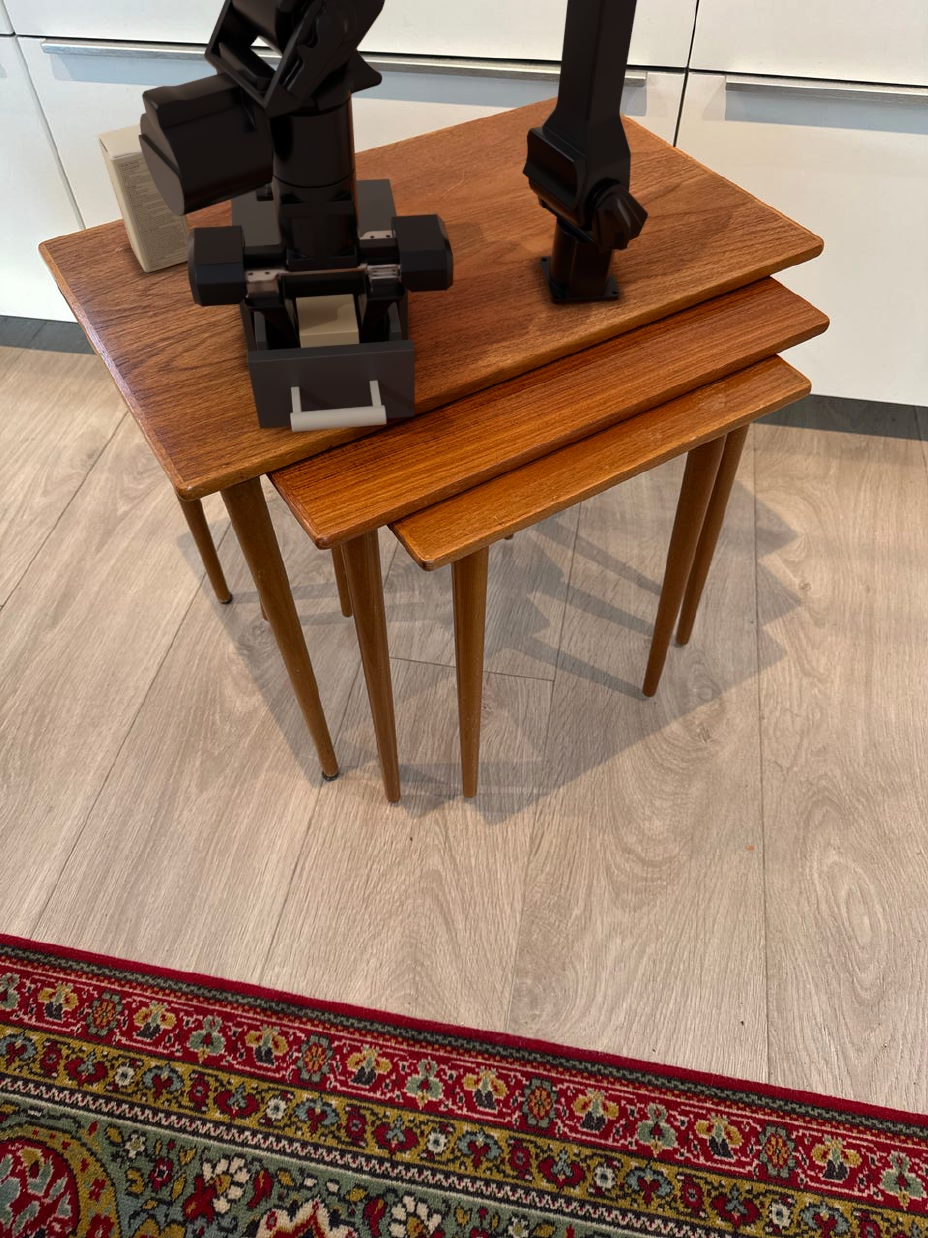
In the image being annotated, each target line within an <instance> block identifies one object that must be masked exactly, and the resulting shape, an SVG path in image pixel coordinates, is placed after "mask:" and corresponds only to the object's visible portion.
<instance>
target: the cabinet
mask: <svg viewBox="0 0 928 1238" xmlns="http://www.w3.org/2000/svg"><path fill="white" fill-rule="evenodd" d="M356 180H357V197H358V214H359V232H360V238H361V237H363V235H364V234H365V233H367V232H371V231H389V230H391V219H392V217H393V216H398V213H397V210H396V209H397V208H396V205H395V200H394V194H393V191H392V184H391V181H390V178H377V179H375V178H374V179H356ZM230 216H231V217H230V218H231V226H235V225H242V228H243V232H244V238H245V246H258V245H274V244H276V243H279V242H280V241H279V234H278V227H277V220H276V213H275V205H274V201H260V202H258V201H257V200H256V196H255V191H254V192H251V193H248V194H245V195H242V196H239V197H236V198H233V199H230ZM346 279H359V271H348V272H333V273H317V274H302V275H286V281H287V283H299V282H315V281H331V280H346ZM396 306H397V311H398V316H399V321H400V327H401V341H402V340H409V290H408V289H407V288H406V287H405V299H404V300H403V301H400V302H396ZM238 309H239V313H240V318H241V323H242V328H243V334H244V340H245V345H246V350H247V352H249V351H258V350H257V345H256V335H255V317H254V312H251V311H248V310H247V309H246V308H245V303H244V299H243V300H242V301H241V302H240V303H239V304H238Z"/></svg>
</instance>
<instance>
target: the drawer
mask: <svg viewBox="0 0 928 1238" xmlns="http://www.w3.org/2000/svg"><path fill="white" fill-rule="evenodd" d="M287 285H288V289H289V293H290V296H291V300H292V304H293V307H294V311H295V315H296V318H297V322H298V315H297V305H296V298H303V297H318V296H333V295H348V294H353V297H354V303H355V310H356V316H357V307H358V292H359V279H346V280H331V281H315V282H299V283H287ZM254 317H255V335H256V345H257V350H258V351H249V352H248V351H247V352H246V365H247V369H248V375H249V381H250V384H251V390H252V395H253V399H254V400H253V401H254V406H255V409H256V415H257V420H258V425H259V429H260V430H265V429H267V430H268V429H279V428H290V427H291V431H292V432H293V433H299V432H311V431H321V430H322V431H323V430H324V431H325V430H331V429H332V430H334V429H335V430H337V429H345V428H358V427H360V428H361V427H369V426H381V425H387V419H388V420H389V419H398V418H410V417H412V418H413V417H415V416H416V375H415V373H416V365H415V364H416V362H415V361H416V351H415V345H414V344H415V343H414V341H413V339H408V340H402V341H401V327H400V321H399V316H398V311H397V306H396V302H394V303H392V304H391V306H390V307H389V309H388V310H387V311H386V313H385V314H384V315H383V317H382V318H381V320H380V321H379V323H378V324H377V326H376V328H375V330H374V332H373V334H372V336H371V338H370V340H369V342H368V343H360V344H346V345H333V346H319V347H305V348H291V346H290V345H289V344H288V342H287V341H286V340H285V338H284V337H283V335H282V334H281V333H280V332H279V330H278V329H277V328H276V327H275V326H274V325H273V324H272V323H271V322H270V321H269V320H268V319H267V318H266V317H265V316H264V315H263V314H262V313H260V312H254Z"/></svg>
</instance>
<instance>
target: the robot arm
mask: <svg viewBox="0 0 928 1238" xmlns="http://www.w3.org/2000/svg"><path fill="white" fill-rule="evenodd" d="M385 2H386V0H224V2H223V5H222V7H221V9H220V12H219V15H218V18H217V20H216V22H215V24H214V27H213V30H212V33H211V35H210V37H209V40H208V42H207V46H206V48H205V50H204V53H203V57H204V60H205V61H206V62H207V63H208V64H209V65H210V66H211V67H212V68H214V69H215V70H216V74H213V75H210V76H205V77H203V78H199V79H196V80H195V79H194V80H192V81H188V82H185V83H181V84H177V85H162V86H158V87H154V88H149V89H147V90H144V91H143V92H142V94H141V98H142V102H143V106H144V109H145V112H144V113H141V115H140V119H139V124H140V129H141V135H138V138H139V142H140V146H141V149H142V153H143V156H144V159H145V162H146V165H147V167H148V170H149V172H150V175H151V177H152V179H153V181H154V183H155V185H156V187H157V189H158V191H159V193H160V195H161V197H162V198H163V200H164V202H165V203H166V204H167V206H168V207H169V209H170V210H171V211H172V212H173V213H174V214H176V215H177V216H183V215H186V216H187V215H189V214H192V213H195V212H198V211H201V210H205V209H207V208H209V207H213V206H215V205H218V204H222V203H224V202H227V201H231V199H233V198H236V197H239V196H242V195H245V194H248V193H251V192H254V191H255V196H256V200H257V201H258V202H260V201H274V205H275V213H276V220H277V227H278V234H279V241H280V242H279V243H276V244H274V245H258V246H245V238H244V232H243V228H242V225H235V226H232V225H219V226H201V227H194V228H193V229H192V230H191V231H190V232H191V233H190V235H189V236H188V261H187V275H188V283H189V287H190V292H191V296H192V299H193V303H194V304H197V305H198V306H200V307H202V308H204V307H220V306H232V305H233V306H234V305H239V303H240V302H241V301H242V300H243V299H244V303H245V308H246V309H247V310H248V311H251V312H260V313H262V314H263V315H264V316H265V317H266V318H267V319H268V320H269V321H270V322H271V323H272V324H273V325H274V326H275V327H276V328H277V329H278V330H279V332H280V333H281V334H282V335H283V337H284V338H285V340H286V341H287V342H288V344H289V345H290V346H291V348H301V343H300V335H299V325H298V322H297V318H296V315H295V311H294V307H293V304H292V300H291V296H290V293H289V289H288V285H287V281H286V275H302V274H317V273H333V272H348V271H359V292H358V307H357V323H358V329H359V343H368V342H369V340H370V338H371V336H372V334H373V332H374V330H375V328H376V326H377V324H378V323H379V321H380V320H381V318H382V317H383V315H384V314H385V313H386V311H387V310H388V309H389V307H390V306H391V304H392V303H394V302H400V301H403V300H404V299H405V287H406V288H407V289H408V291H409V292H411V293H427V292H442V291H448V290H449V289H450V288H451V287H453V286H454V271H455V270H454V267H455V265H454V253H453V250H452V246H451V242H450V238H449V234H448V229H447V226H446V222H445V221H444V220H443V218H442V217H441V216H439V214H438V213H431V214H412V215H411V214H410V215H397V216H393V217H392V219H391V230H389V231H371V232H367V233H365V234H364V235H363V237H361V238H360V232H359V214H358V197H357V180H358V179H357V166H356V164H357V163H356V149H355V148H356V147H355V131H354V129H355V128H354V114H353V97H352V96H353V95H354V94H356V93H358V92H363V91H365V90H368V89H372V88H375V87H378V86H380V85H381V84H382V82H383V75H382V73H381V72H380V71H378V70H377V69H376V68H375V67H374V66H372V65H371V64H370V63H368V62H367V61H366V60H365V59H364V58H363V56H362V55H361V53H360V52H359V49H358V47H359V46H360V45H361V43H362V41H363V40H364V39H365V37H366V35H367V34H368V32H369V31H370V30H371V28H372V27H373V25H374V23H375V22H376V20H377V19H378V18H379V16H380V14H381V13H382V11H383V9H384V7H385ZM637 3H638V0H567V2H566V12H565V21H564V22H565V24H564V29H563V30H564V32H563V39H562V40H563V41H562V51H561V60H560V71H559V81H558V88H557V89H558V91H557V98H556V99H557V100H556V104H555V107H554V108H553V109H552V111H551V112H550V113H549V115H548V116H547V118H546V119H544V121H543V123H542V124H541V126H535V127H531V128H529V129H528V131H527V134H526V147H527V148H526V150H527V151H526V153H527V154H526V160H525V164H524V166H523V169H522V172H521V173H522V175H524V176H525V177H526V178H528V179H527V180H528V186H529V189H530V190H531V191H532V192H533V193H534V194H535V196H537V201H538V204H539V206H540V207H541V208H542V209H546V211H548V212H549V213H550V214H552V215H553V216H554V217H556V219H555V227H554V234H553V241H552V248H551V256H541V257H540V258H539V259H538V265H539V268H540V272H541V274H542V277H543V281H544V284H545V286H546V289H547V293H548V295H549V298H550V301H551V303H553V304H556V305H559V304H574V303H588V302H590V303H591V302H602V301H603V302H605V301H615V300H616V301H617V300H619V299H620V295H621V292H620V289H619V286H618V284H617V281H616V279H615V277H614V274H613V271H612V270H613V264H614V259H615V255H616V251H624V250H626V249H628V245H629V243H630V241H632V240H634V239H636V238H639V236H640V235H641V232H642V230H643V228H644V226H645V223H646V222H647V219H648V217H649V212H647V210H646V209H645V208H644V207H643V206H642V204H640V202H639V201H638V200H637V199H636V198H635V197H634V195H632V194H631V193H630V187H631V170H632V169H631V167H632V151H631V147H630V144H629V140H628V138H627V134H626V131H625V127H624V123H623V119H622V116H621V104H622V97H623V91H624V87H625V86H624V84H625V79H626V73H627V67H628V61H629V54H630V47H631V42H632V35H633V28H634V22H635V18H636V17H635V16H636V11H637ZM257 39H260V40H261V41H262V43H264V44H265V45H266V46H267V47H269V48H270V49H271V50H272V51H274V53H276V54H277V55H278V56H279V57H281V58H280V60H279V63H278V64H277V67H276V69H275V68H274V67H272V66H271V65H270V64H269V63H268V62H267V61H265V59H263V58H262V57H261V56H260V55H258V53H256V52H255V51H254V50H253V49H252V48H251V47H252V45H253V44H254V43H255V42H256V40H257Z"/></svg>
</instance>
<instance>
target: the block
mask: <svg viewBox="0 0 928 1238" xmlns="http://www.w3.org/2000/svg"><path fill="white" fill-rule="evenodd" d="M296 305H297V315H298V325H299V335H300V343H301V348H305V347H319V346H333V345H346V344H360V343H359V329H358V323H357V316H356V310H355V303H354V297H353V294H348V295H333V296H318V297H303V298H296Z"/></svg>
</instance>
